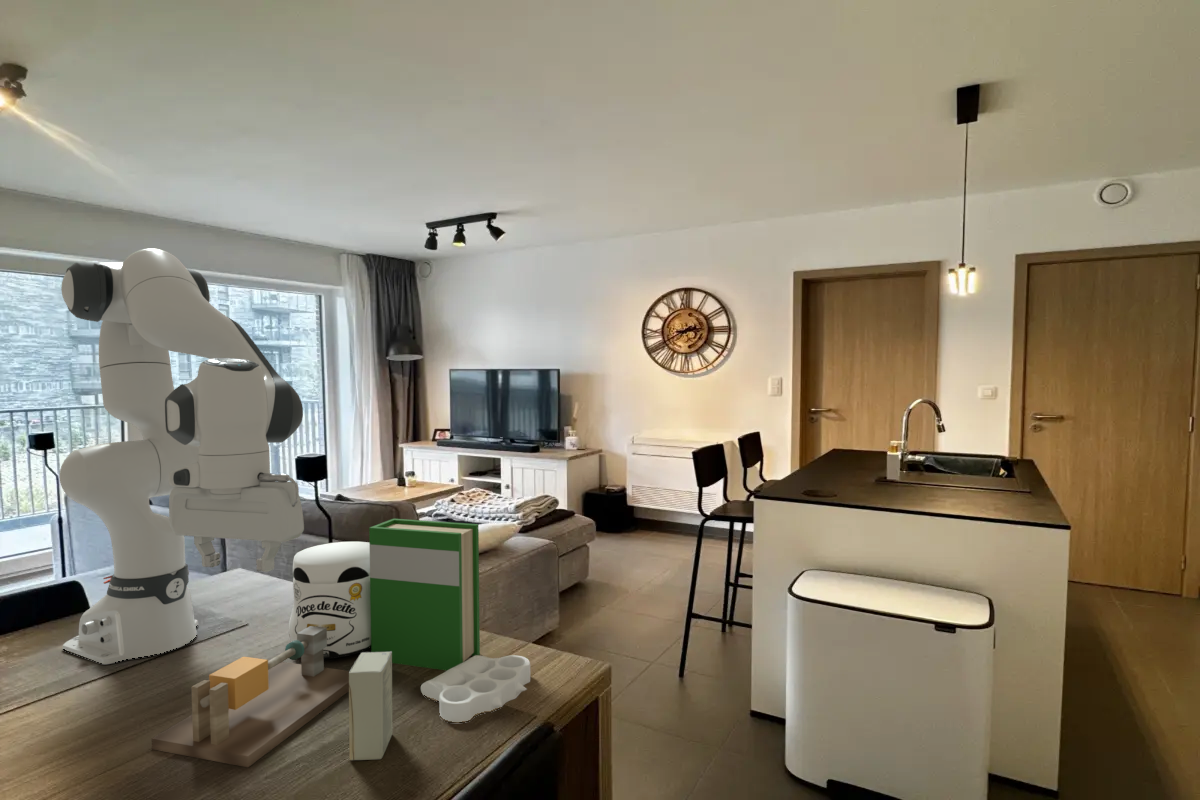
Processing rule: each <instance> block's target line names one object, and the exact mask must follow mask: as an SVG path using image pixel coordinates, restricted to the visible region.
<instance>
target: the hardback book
mask: <svg viewBox="0 0 1200 800" xmlns="http://www.w3.org/2000/svg"><path fill="white" fill-rule="evenodd" d="M368 530H369V531H368V533H369V536H368V537H369V544H370V601H371V651H370V652H390V651H392V664H397V665H405V666H411V667H419V668H426V669H433V670H439V671H440V670H442V671H447V670H449V669H451V668H453V667H455V666H457V665H459V664H461V663H463V662H465V661H467V660H468V659H469V658H470V657H471V656H472V657H473V656H475V655H479V656H480V655H481V647H480V645H481V642H480V633H481V632H480V631H481V630H480V626H481V625H480V555H479V553H480V550H479V539H480V538H479V537H480V536H479V524H477V523H466V522H465V523H463V522H451V521H435V520H421V519H420V520H419V519H405V518H404V519H403V518H391V519H388V520H386V521H383V522H381V523H378V524H376V525H373V526H369V528H368Z"/></svg>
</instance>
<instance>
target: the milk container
mask: <svg viewBox="0 0 1200 800" xmlns="http://www.w3.org/2000/svg"><path fill="white" fill-rule="evenodd" d="M292 576H293V578H292V586H293V587H292V589H293V603H292V604H293V605H292V609H291V613H290V616H289V617H290V618H289V621H288V636H289V641H290V642H292V641H294V640H297V633H298V632H300V631H302V630H304V629H306V628H308V627H309V626H315V627H324V628H327V647H325V648H324V649H323V657H324V660H325V659H326V660H327V659H338V658H344V657H345V658H346V657H350V656H352V655H356V654H359V653H360V654H361V653H362V652H366V650H369V649H370V648H371V601H370V544H369V542H368V541H367V542H366V541H340V542H339V541H337V542H329V543H324V544H318V545H314V546H311V547H307V548H304V549H303V550H300V551H298V552H296V553H295V555H294V556H293V561H292Z"/></svg>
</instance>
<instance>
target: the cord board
mask: <svg viewBox="0 0 1200 800" xmlns="http://www.w3.org/2000/svg"><path fill="white" fill-rule="evenodd" d="M325 647H327V628H324V627H315V626H309V627H308V628H306V629H304V630H302V631H300V632H298V633H297V640H294V641H292V642H291V641H290V642H288V643H287V644H286V646H285V648H284V649H285V650H284V651H283V652H282V653H280V654H278V655H275V657H272V658H271V659H268V686H269V689H268V690H266V691H265V692H263V693H262V694H260V695H258V696H257V697H255V698H254V699H252V700H250V701H249V702H247V703H246V704H244V705H243V706H241V707H239V708H238V709H236V710H233V709H228V683H220V684H218V685H216V686H215V687H213V688H211V689H210V681H209V679H208V680H207V679H203V680H201V681H200V682H197V683H196V684H194V685H192V686H191V687H190V688H191V714H190V715H189V716H187V717H186V718H184V719H182V720H180V721H179V722H177V723H175V724H174V725H172V726H170V727H169V728H167V729H165V730H164V731H162V732H160V733H158V734H156V735H154V736H153V737H152V738H151V750H154V751H160V752H164V753H165V752H166V753H170V754H176V755H180V756H186V757H191V758H196V759H201V760H206V761H207V760H208V761H212V762H218V763H221V764H222V763H223V764H228V765H233V766H239V767H242V768H249V767H251V766H252V765H254V764H255V763H256V762H257V761H259V760H260V759H261V758H263V757H265V755H267V754H268V753H270V752H271V751H272V750H273V749H275V748H277V747H278V745H280V744H282V742H284V741H285V740H287V739H288V738H289V737H290V736H292V735H294V734H295V733H296V732H297V731H298V730H300V729H301V728H302V727H304V726H305V725H307V724H308V723H309V722H311V721H312V720H313V719H315V718H316V717H317V716H318V715H319V713H320V714H321V713H322V712H323V710H324V711H325V710H326V709H328V708H329V707H330V706H331V705H333V704H334V703H335V702H337V701H338V700H340V699H341V698H342V697H344V696H345V695H346V694H347V693H349V672H350V670H346V669H345V670H343V669H338V668H337V669H336V668H330V667H324V665H325V664H324V663H325V662H324V661H325V659H324V657H323V649H324V648H325ZM299 658H301V659H300V660H301V662H300V663H295V662H288V661H287V662H286V660H288V659H289V660H291V661H295V660H298V659H299Z"/></svg>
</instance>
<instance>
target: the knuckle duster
mask: <svg viewBox="0 0 1200 800" xmlns="http://www.w3.org/2000/svg"><path fill="white" fill-rule="evenodd" d="M529 683H531V662H530V660H529V659H528V658H526V657H525V656H522V655H514V654H513V655H504V656H501V657H493V658H492V657H488V656H485V655H480V654H479V655H475V656H472V657H471V656H470V657H468V658H467V659H466V660H465V661H464V662H463V663H461V664H459V665H457V666H455V667H453V668H451V669H449V670H445V671H444V672H443V673H440V674H439V675H437V676H435V677H433V678H431V679H429V680H426V681H425V682H423V683H421V686H420V692H421V693H422V696H424V695H425V696H427V697H430V698H434V699H436V700H438V701H439V702H438V704H439V706H438V707H439V713H440V715H439V717H440V716H441V717H442V718H443V719H445V720H448V721H452V722H462V721H468V720H470V719H471V718H472V717H473V716H474V715H475V714H477V713H481V712H484V711H491V710H493V709H495V708H499V707H502V708H503V706H504V705H505V704H506V703H508V702H509V701H513V700H515V699H517V698H518V696H519V695H520V694H521V693H522V692H525V691H527V690H528V688H527V687H525V685H526V684H529ZM425 696H424V697H425Z"/></svg>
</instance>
